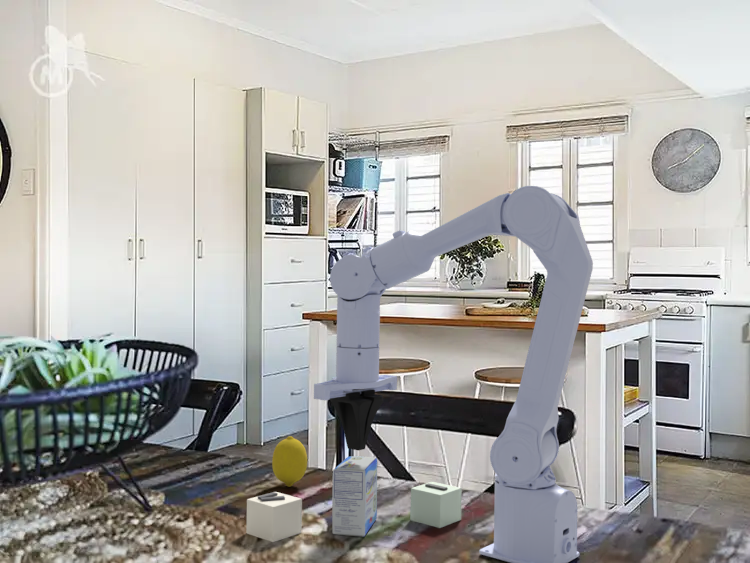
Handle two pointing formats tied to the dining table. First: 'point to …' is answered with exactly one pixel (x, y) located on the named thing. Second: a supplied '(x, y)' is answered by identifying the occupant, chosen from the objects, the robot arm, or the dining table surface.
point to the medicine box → (354, 496)
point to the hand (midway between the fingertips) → (356, 448)
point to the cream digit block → (274, 516)
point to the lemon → (289, 461)
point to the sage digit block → (435, 504)
